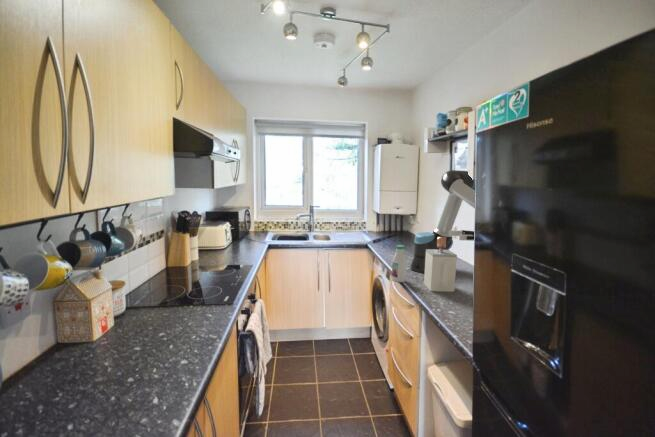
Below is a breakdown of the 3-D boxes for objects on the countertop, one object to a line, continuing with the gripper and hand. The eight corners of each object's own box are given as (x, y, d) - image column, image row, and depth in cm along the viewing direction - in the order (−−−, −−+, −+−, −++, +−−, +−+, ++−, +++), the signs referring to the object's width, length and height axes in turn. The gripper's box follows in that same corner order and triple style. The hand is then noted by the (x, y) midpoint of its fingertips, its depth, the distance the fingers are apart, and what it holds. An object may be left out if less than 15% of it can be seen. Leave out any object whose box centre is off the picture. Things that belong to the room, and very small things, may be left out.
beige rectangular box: (423, 283, 176) (426, 249, 173) (445, 284, 175) (448, 249, 173) (432, 293, 160) (435, 255, 158) (456, 294, 160) (459, 256, 158)
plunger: (430, 283, 173) (433, 236, 170) (442, 283, 173) (446, 236, 170) (434, 287, 166) (437, 238, 163) (447, 288, 166) (450, 238, 163)
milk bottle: (404, 279, 183) (406, 244, 181) (406, 283, 176) (408, 247, 173) (391, 278, 184) (392, 244, 182) (392, 282, 176) (394, 246, 174)
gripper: (508, 248, 153) (463, 247, 154) (484, 239, 178) (445, 238, 179) (509, 232, 152) (464, 231, 153) (485, 225, 177) (446, 224, 178)
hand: (454, 235), depth 166 cm, fingers open, 13 cm apart
